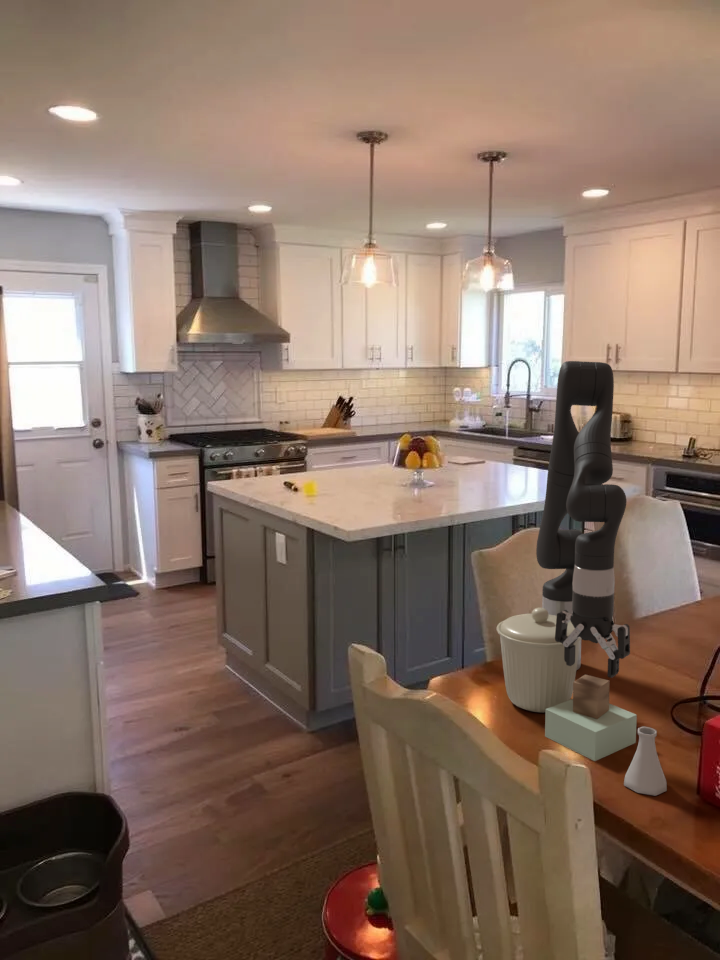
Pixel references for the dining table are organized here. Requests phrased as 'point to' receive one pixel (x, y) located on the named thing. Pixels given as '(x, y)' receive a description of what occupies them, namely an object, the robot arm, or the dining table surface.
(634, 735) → the sage box
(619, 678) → the dining table surface
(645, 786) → the flask
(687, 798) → the dining table surface
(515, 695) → the canister
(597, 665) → the dining table surface
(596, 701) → the walnut block
